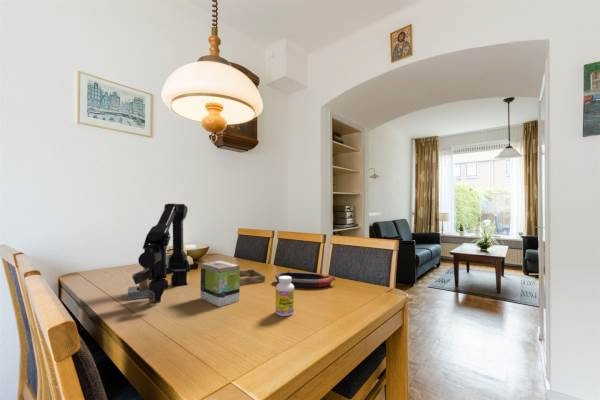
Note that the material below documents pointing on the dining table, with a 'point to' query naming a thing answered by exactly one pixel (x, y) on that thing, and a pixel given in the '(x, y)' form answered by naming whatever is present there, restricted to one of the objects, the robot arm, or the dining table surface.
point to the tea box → (220, 282)
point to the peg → (144, 285)
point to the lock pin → (154, 298)
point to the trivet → (250, 280)
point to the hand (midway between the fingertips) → (157, 301)
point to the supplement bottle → (285, 296)
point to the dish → (307, 279)
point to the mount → (138, 293)
